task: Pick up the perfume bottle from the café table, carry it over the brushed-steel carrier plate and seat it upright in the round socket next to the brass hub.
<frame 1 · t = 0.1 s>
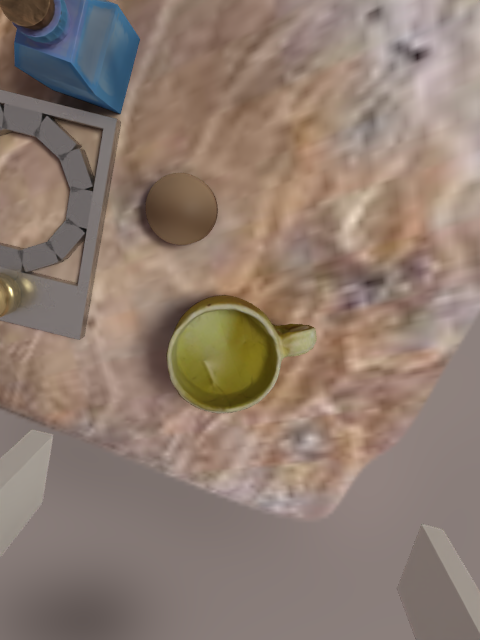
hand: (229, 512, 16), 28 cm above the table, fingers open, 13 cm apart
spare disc: (184, 210, 41), on the table
mug: (243, 334, 43), on the table
carrier plate: (17, 213, 41), on the table
perfume bottle: (96, 65, 39), on the table
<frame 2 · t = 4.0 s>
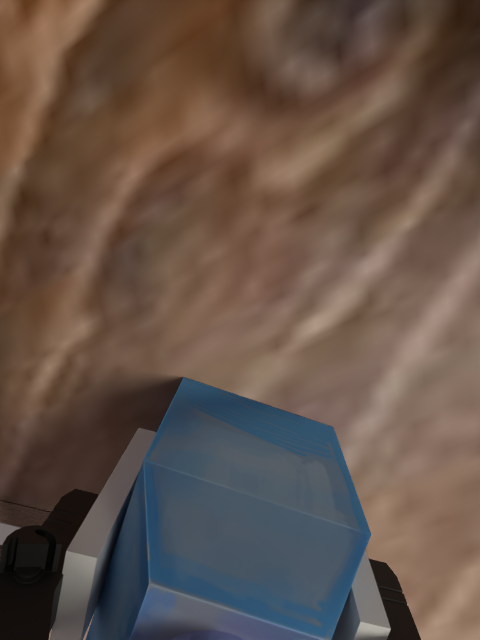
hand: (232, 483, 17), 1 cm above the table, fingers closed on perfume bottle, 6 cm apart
perfume bottle: (234, 466, 18), on the table, touching gripper
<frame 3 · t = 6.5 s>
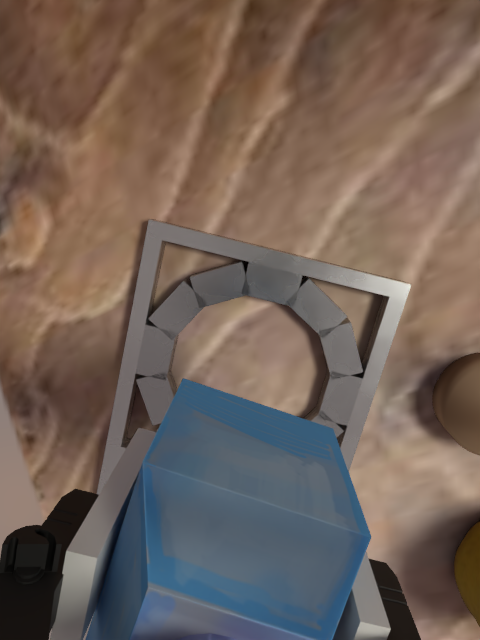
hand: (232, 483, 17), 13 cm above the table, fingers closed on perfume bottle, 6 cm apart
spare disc: (478, 395, 29), on the table
carrier plate: (241, 397, 30), on the table
perfume bottle: (233, 468, 18), point 12 cm above the table, touching gripper
when the fingers open (2 cm above the table, at t = 8.9 s): perfume bottle stays where it is, resting in carrier plate.
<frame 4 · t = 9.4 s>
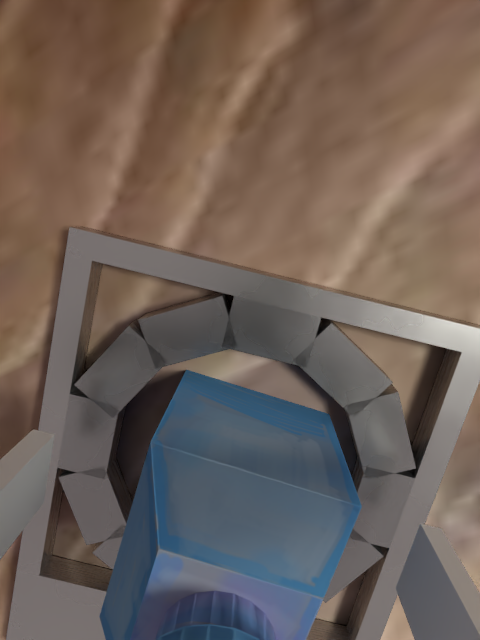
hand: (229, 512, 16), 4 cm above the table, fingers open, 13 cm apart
carrier plate: (224, 497, 20), on the table
perfume bottle: (236, 454, 19), resting in carrier plate
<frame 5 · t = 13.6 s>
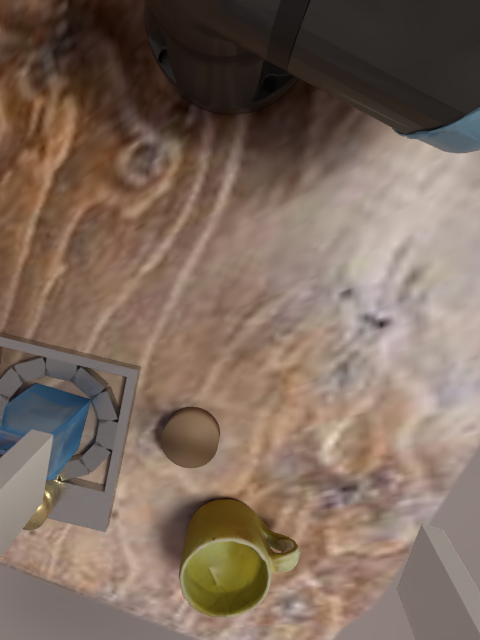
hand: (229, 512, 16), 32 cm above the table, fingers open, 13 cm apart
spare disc: (192, 431, 50), on the table
mug: (241, 524, 52), on the table
carrier plate: (54, 432, 50), on the table
perfume bottle: (58, 415, 50), resting in carrier plate
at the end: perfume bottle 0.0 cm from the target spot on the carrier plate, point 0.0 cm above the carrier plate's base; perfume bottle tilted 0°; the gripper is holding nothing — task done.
